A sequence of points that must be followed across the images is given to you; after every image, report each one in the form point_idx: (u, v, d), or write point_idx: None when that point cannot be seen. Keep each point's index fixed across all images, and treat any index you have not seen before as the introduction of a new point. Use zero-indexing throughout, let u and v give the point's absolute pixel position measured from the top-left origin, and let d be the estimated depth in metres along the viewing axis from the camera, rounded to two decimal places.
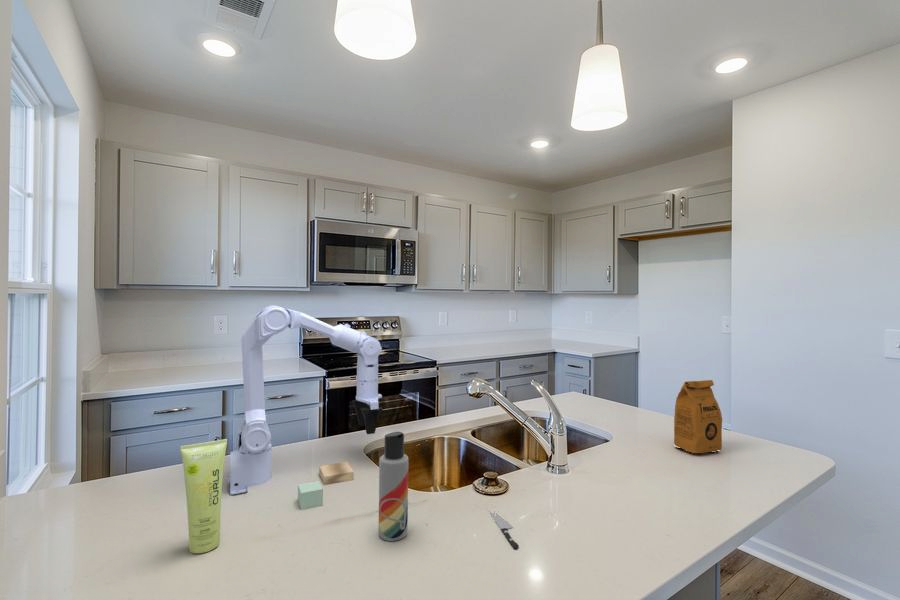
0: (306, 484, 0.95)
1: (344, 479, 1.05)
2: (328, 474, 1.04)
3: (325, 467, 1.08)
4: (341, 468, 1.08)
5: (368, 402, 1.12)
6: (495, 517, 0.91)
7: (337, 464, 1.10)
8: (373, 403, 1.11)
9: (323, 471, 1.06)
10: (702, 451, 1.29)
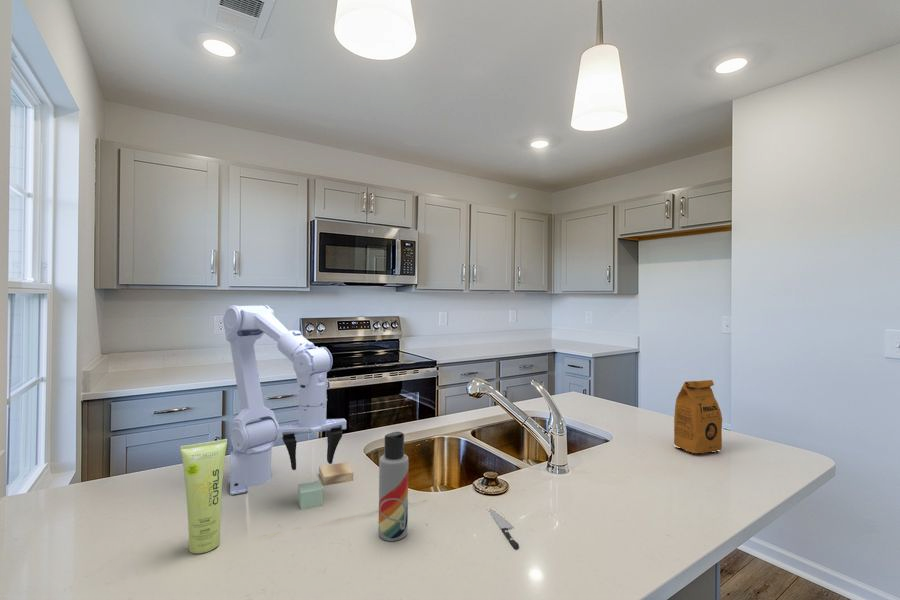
0: (306, 484, 0.95)
1: (344, 480, 1.05)
2: (327, 474, 1.04)
3: (325, 468, 1.08)
4: (341, 469, 1.07)
5: None
6: (495, 517, 0.91)
7: (337, 464, 1.10)
8: (276, 428, 0.91)
9: (323, 471, 1.06)
10: (702, 451, 1.29)
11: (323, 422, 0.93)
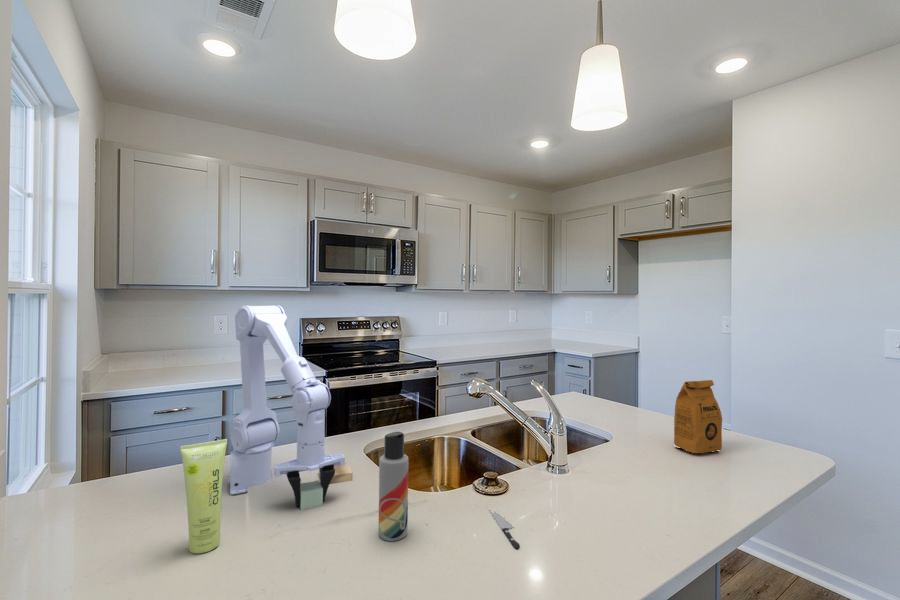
0: (306, 483, 0.95)
1: (343, 480, 1.05)
2: None
3: None
4: (340, 469, 1.07)
5: None
6: (496, 517, 0.91)
7: (337, 465, 1.10)
8: None
9: None
10: (702, 451, 1.29)
11: (321, 460, 0.93)
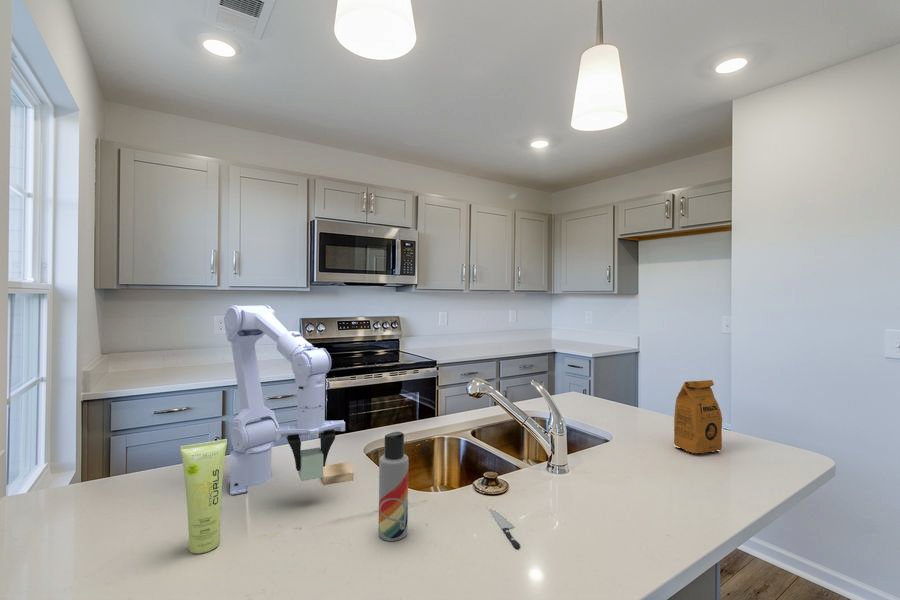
0: (306, 450, 0.95)
1: (344, 480, 1.05)
2: (328, 474, 1.04)
3: (326, 468, 1.08)
4: (341, 469, 1.07)
5: None
6: (496, 517, 0.92)
7: (338, 464, 1.10)
8: (275, 430, 0.91)
9: (323, 471, 1.06)
10: (702, 451, 1.29)
11: (322, 424, 0.93)
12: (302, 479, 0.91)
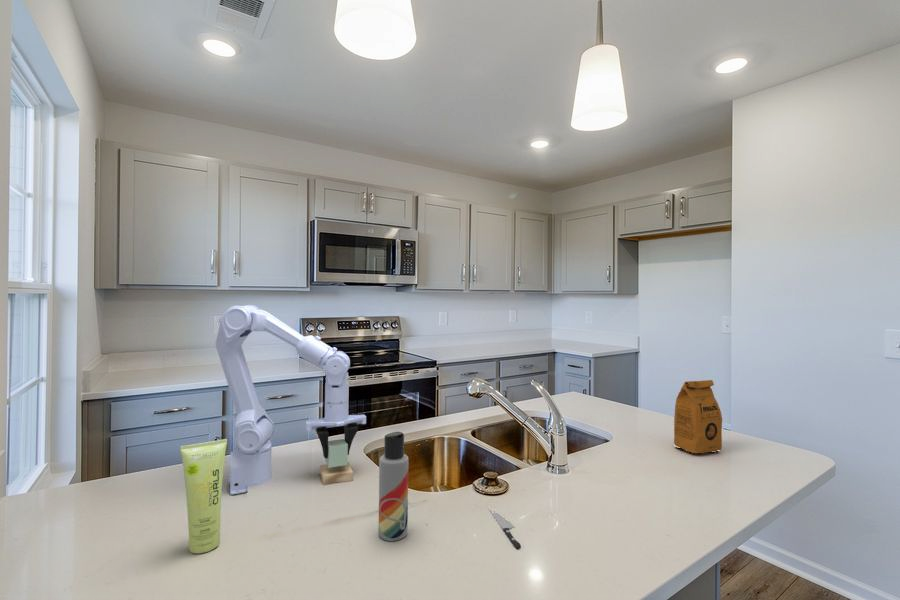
0: (333, 441, 1.08)
1: (343, 479, 1.05)
2: (327, 474, 1.04)
3: (326, 467, 1.08)
4: (341, 469, 1.07)
5: None
6: (496, 517, 0.92)
7: None
8: (306, 423, 1.04)
9: (323, 471, 1.06)
10: (702, 451, 1.29)
11: (346, 417, 1.06)
12: (329, 466, 1.04)
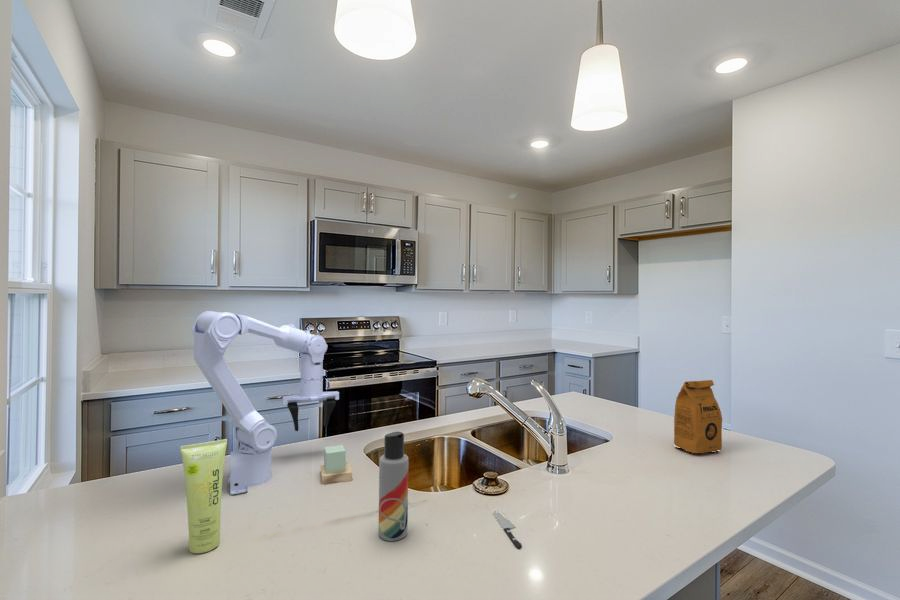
0: (331, 447, 1.09)
1: (342, 479, 1.05)
2: (326, 474, 1.04)
3: None
4: None
5: None
6: (497, 517, 0.92)
7: None
8: None
9: (323, 470, 1.06)
10: (702, 451, 1.29)
11: (320, 393, 1.16)
12: (327, 472, 1.05)
